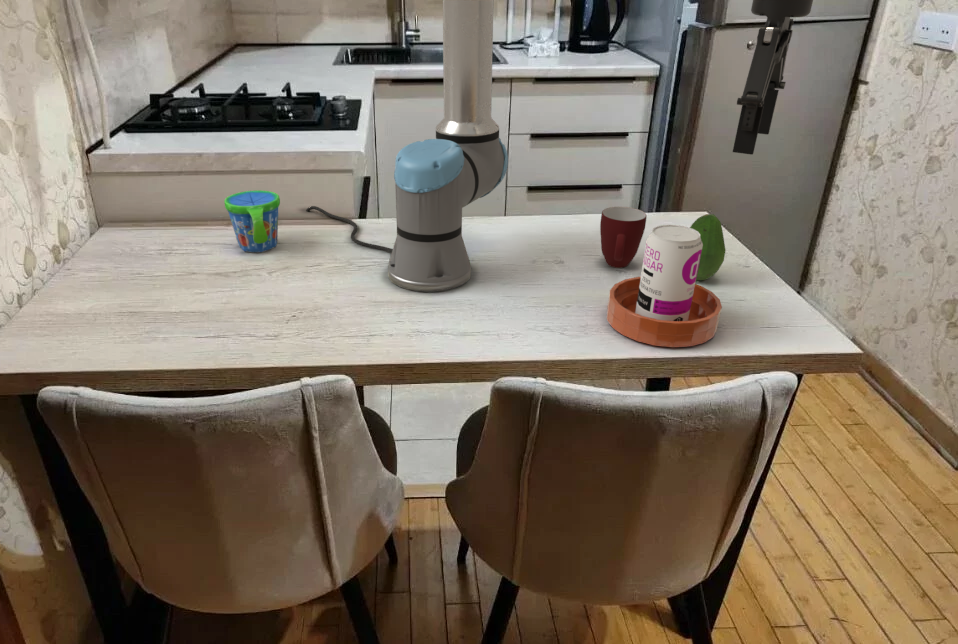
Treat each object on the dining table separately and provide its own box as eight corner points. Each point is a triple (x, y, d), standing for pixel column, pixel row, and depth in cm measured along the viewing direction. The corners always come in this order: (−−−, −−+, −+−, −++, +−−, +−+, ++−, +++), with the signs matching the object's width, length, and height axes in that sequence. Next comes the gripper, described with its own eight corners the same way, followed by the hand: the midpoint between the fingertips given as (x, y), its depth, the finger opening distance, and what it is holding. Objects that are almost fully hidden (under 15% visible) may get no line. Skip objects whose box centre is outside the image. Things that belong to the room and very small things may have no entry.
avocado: (714, 270, 135) (727, 208, 129) (723, 288, 128) (737, 223, 122) (670, 268, 136) (681, 206, 130) (676, 285, 129) (688, 221, 123)
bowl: (592, 332, 114) (595, 307, 112) (624, 292, 127) (627, 268, 125) (702, 359, 107) (708, 333, 105) (725, 314, 120) (730, 289, 117)
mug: (643, 279, 132) (651, 226, 127) (598, 277, 133) (604, 225, 128) (636, 256, 141) (643, 207, 136) (594, 255, 142) (600, 205, 137)
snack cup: (232, 235, 152) (225, 187, 147) (283, 231, 154) (277, 184, 149) (230, 264, 138) (223, 212, 133) (286, 259, 140) (281, 208, 135)
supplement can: (696, 320, 117) (714, 232, 110) (671, 338, 112) (688, 247, 104) (650, 305, 122) (664, 219, 114) (625, 321, 117) (638, 233, 109)
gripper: (805, -11, 87) (764, 166, 97) (826, -21, 105) (790, 128, 116) (739, -13, 90) (706, 158, 101) (771, -23, 108) (740, 123, 119)
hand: (751, 142), depth 108 cm, fingers open, 13 cm apart
